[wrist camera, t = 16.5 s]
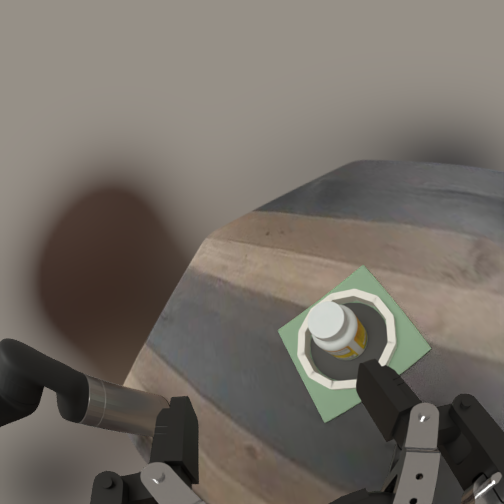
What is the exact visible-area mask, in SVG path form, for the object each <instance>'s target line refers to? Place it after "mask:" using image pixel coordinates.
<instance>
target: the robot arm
mask: <svg viewBox="0 0 504 504" xmlns="http://www.w3.org/2000/svg"><path fill="white" fill-rule="evenodd" d="M44 386H45V387H47V388H49V389H51V390H53V391H55V392H56V394H57V404H58V409H59V412H60V414H61V416H62V417H63V418H64V419H66V420H68V421H71V422H75V423H79V424H83V425H87V426H92V427H97V428H101V429H106V430H111V431H117V432H122V433H128V434H135V435H142V436H150V437H153V443H152V450H151V457H150V462H149V464H148V465H147V466H145V467H144V468H143V470H142V471H141V472H139V473H136V474H131V475H126V476H119V475H118V474H116V473H115V472H111V471H105V472H102V473H100V474H98V475H97V476H96V477H95V479H94V483H93V488H92V495H91V502H90V504H206V503H205V502H204V501H203V500H201V499H200V498H199V497H198V496H197V495H196V494H195V493H194V492H193V491H192V484H199V472H198V420H197V416H196V414H195V412H194V409H193V407H192V404H191V402H190V399H189V397H188V396H183V397H172V398H171V401H170V407H169V404H168V402H167V401H166V400H165V398H163V397H162V396H159V395H155V394H151V393H147V392H143V391H139V390H135V389H131V388H128V387H124V386H121V385H117V384H114V383H110V382H107V381H104V380H101V379H98V378H95V377H92V376H89V375H86V374H83V373H81V372H78V371H76V370H74V369H72V368H71V367H69V366H67V365H65V364H63V363H61V362H59V361H57V360H55V359H52V358H50V357H48V356H46V355H44V354H43V353H41V352H39V351H37V350H35V349H34V348H32V347H30V346H28V345H26V344H24V343H22V342H19V341H17V340H14V339H3V340H2V341H1V342H0V427H1V426H4V425H6V424H8V423H11V422H14V421H17V420H19V419H22V418H24V417H26V416H28V415H30V414H32V413H33V412H34V411H35V410H36V409H37V407H38V405H39V403H40V399H41V396H42V392H43V388H44ZM356 391H357V394H358V396H359V398H360V399H361V401H362V403H363V404H364V406H365V407H366V409H367V411H368V412H369V414H370V416H371V417H372V419H373V420H374V422H375V424H376V425H377V427H378V429H379V430H380V432H381V433H382V435H383V437H384V438H385V440H386V442H387V441H390V440H392V439H395V440H396V445H395V448H394V453H393V457H392V460H391V464H390V468H389V471H388V475H387V477H386V480H385V482H384V484H383V486H382V489H381V491H374V492H367V491H366V489H365V488H364V489H361V490H359V491H356V492H353V493H350V494H348V495H345V496H342V497H340V498H338V499H336V500H335V501H333V502H331V503H329V504H432V500H433V496H434V491H435V486H436V481H437V475H438V468H439V461H440V452H441V454H442V455H443V457H444V458H445V460H446V462H447V463H448V465H449V467H450V468H451V470H452V472H453V473H454V475H455V477H456V478H457V480H458V482H459V483H460V485H461V487H462V489H463V490H464V493H463V495H462V502H461V504H504V432H503V431H502V430H501V428H500V427H499V426H498V425H497V423H496V422H495V421H494V420H493V419H492V417H491V416H490V415H489V414H488V413H487V411H486V410H485V409H484V408H483V407H482V405H481V404H480V403H479V402H478V401H477V400H476V399H475V398H474V397H473V396H472V395H470V394H460V395H458V396H457V397H456V398H455V399H454V401H453V403H452V404H448V405H444V406H440V407H435V406H434V405H432V404H430V403H422V402H421V401H420V400H419V398H418V397H417V396H416V395H415V394H414V392H413V391H412V390H411V389H410V388H409V386H408V385H407V384H406V383H405V382H404V380H403V379H402V378H400V376H399V374H398V373H397V372H396V371H395V370H394V369H392V368H390V367H389V366H387V365H384V366H381V365H380V363H379V362H378V361H377V360H376V359H371V360H368V361H365V362H362V363H360V364H359V368H358V375H357V381H356ZM437 447H438V449H439V450H437Z"/></svg>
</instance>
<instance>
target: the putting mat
mask: <svg viewBox="0 0 504 504" xmlns="http://www.w3.org/2000/svg"><path fill="white" fill-rule="evenodd" d="M326 301H331V302H335V303H337V304H338V305H344V306H346V307H348V308H349V309H351V310H352V311H353V313H354V314H355V315H356V317H357V318H358V319H359V321H360V322H361V324H362V325H363V326H364V328H365V329H366V331H367V335H368V341H367V346H366V348H365V350H364V351H363V353H362V354H361V355H360V356H358V357H357V358H355V359H352V360H340V359H338V358H336V357H334V356H333V355H331V354H330V353H328V352H326V351H325V350H323V349H321V348H320V347H319V346H318V345H317V344H316V343H315V342H314V340H313V337H312V333H311V332H310V330H309V328H308V317H309V314H310V312H311V311H312V309H313V308H314V307H315V306H317V305H318V304H320V303H322V302H326ZM278 332H279V334H280V336H281V338H282V340H283V342H284V344H285V346H286V348H287V350H288V352H289V354H290V356H291V358H292V360H293V362H294V364H295V366H296V368H297V370H298V372H299V374H300V376H301V378H302V380H303V382H304V384H305V386H306V388H307V390H308V392H309V393H310V395H311V397H312V399H313V401H314V403H315V405H316V407H317V409H318V411H319V413H320V415H321V417H322V419H323V421H324V423H327V422H328V421H330V420H332V419H334V418H336V417H337V416H339V415H341V414H342V413H344V412H346V411H347V410H349V409H351V408H352V407H354V406H356V405H357V404H359V403H360V402H362V401H361V399H360V398H359V396H358V394H357V391H356V381H357V375H358V368H359V364H360V363H362V362H365V361H368V360H371V359H376V360H377V361H378V362H379V363H380V365H381V366H384V365H387V366H389V367H390V368H392V369H394V370H395V371H396V372H397V373H398V374H399V375H401V374H402V373H403V372H404V371H406V370H407V369H408V368H410V367H411V366H412V365H413V364H414V363H416V362H417V361H418V360H419V359H421V358H422V357H423V356H424V355H425V354H426V353H428V352H429V351H430V350H431V347H430V346H429V345H428V343H427V342H426V341H425V339H424V338H423V337H422V335H421V334H420V333H419V331H418V330H417V329H416V328H415V326H414V325H413V324H412V322H411V321H410V320H409V319H408V317H407V316H406V315H405V314H404V312H403V311H402V310H401V309H400V307H399V306H398V305H397V304H396V302H395V301H394V300H393V299H392V298H391V296H390V295H389V294H388V293H387V292H386V290H385V289H384V288H383V287H382V286H381V284H380V283H379V282H378V281H377V280H376V279H375V277H374V276H373V275H372V274H371V273H370V272H369V271H368V269H367V268H366V267H365V266H364V265H362V266H361V267H360V268H359V269H357V270H356V271H355V272H354V273H353V274H351V275H350V276H349V277H348V278H346V279H345V280H344V281H343V282H341V283H340V284H339V285H338V286H336V287H335V288H334V289H333V290H331V291H330V292H329V293H328V294H326V295H325V296H324V297H322V298H321V299H320V300H318V301H317V302H316V303H315V304H313V305H312V306H311V307H309V308H308V309H307V310H305V311H304V312H303V313H301V314H300V315H298V316H297V317H296V318H294V319H293V320H292V321H290V322H289V323H287V324H286V325H285V326H283V327H282V328H280V329H279V330H278Z"/></svg>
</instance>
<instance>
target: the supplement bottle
mask: <svg viewBox="0 0 504 504" xmlns="http://www.w3.org/2000/svg"><path fill="white" fill-rule="evenodd" d="M308 328H309V330H310V332H311V333H312V337H313V340H314V342H315V343H316V344H317V345H318V346H319V347H320V348H321V349H323V350H325V351H326V352H328V353H330V354H331V355H333V356H334V357H336V358H338V359H340V360H352V359H355V358H357V357H358V356H360V355H361V354H362V353H363V351H364V350H365V348H366V346H367V341H368V335H367V331H366V329H365V328H364V326H363V325H362V324H361V322H360V321H359V319H358V318H357V317H356V315H355V314H354V313H353V311H352V310H351V309H349V308H348V307H346V306H344V305H338V304H337V303H335V302H331V301H326V302H322V303H320V304H318V305H317V306H315V307H314V308H313V309H312V311H311V312H310V314H309V317H308Z"/></svg>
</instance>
